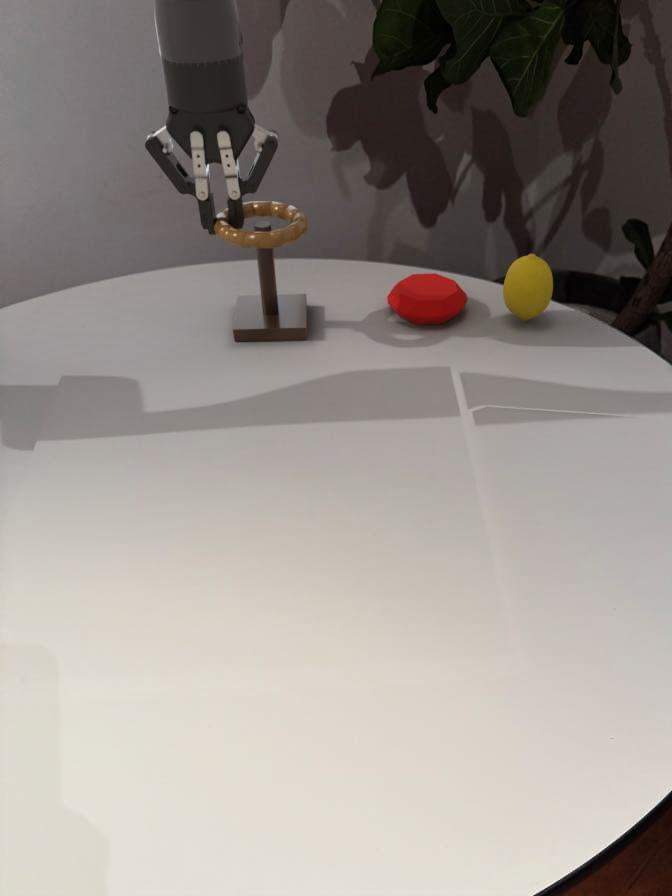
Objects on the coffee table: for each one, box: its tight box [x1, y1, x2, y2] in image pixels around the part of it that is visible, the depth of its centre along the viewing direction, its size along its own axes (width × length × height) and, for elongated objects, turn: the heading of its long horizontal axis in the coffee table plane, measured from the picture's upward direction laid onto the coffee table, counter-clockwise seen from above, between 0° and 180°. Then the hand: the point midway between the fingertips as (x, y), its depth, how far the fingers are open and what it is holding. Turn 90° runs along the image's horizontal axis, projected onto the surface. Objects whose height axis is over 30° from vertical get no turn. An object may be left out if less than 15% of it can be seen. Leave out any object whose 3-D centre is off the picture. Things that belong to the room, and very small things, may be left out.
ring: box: [214, 200, 308, 249], centre depth 92 cm, size 10×10×2 cm
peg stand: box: [232, 220, 308, 343], centre depth 96 cm, size 8×8×12 cm
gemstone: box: [386, 272, 468, 326], centre depth 101 cm, size 9×9×3 cm
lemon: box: [502, 253, 554, 322], centre depth 98 cm, size 6×6×8 cm
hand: (224, 231), depth 92 cm, fingers closed on ring, 1 cm apart
